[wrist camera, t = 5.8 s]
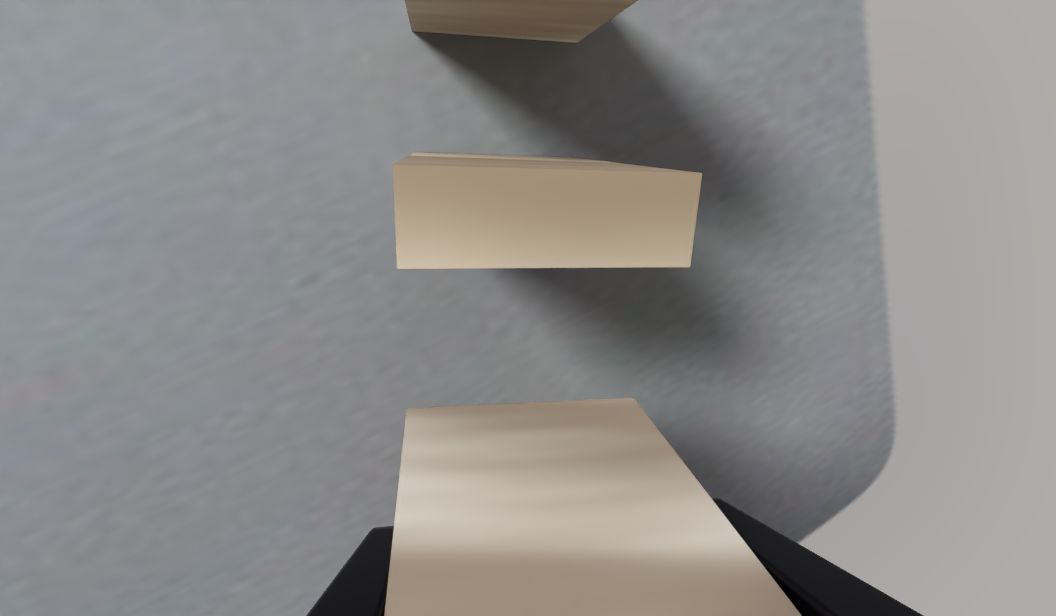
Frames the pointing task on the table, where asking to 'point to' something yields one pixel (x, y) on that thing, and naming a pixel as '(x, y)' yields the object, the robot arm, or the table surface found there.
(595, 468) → the domino
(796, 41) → the table surface
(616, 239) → the domino
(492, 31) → the domino
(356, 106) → the table surface
